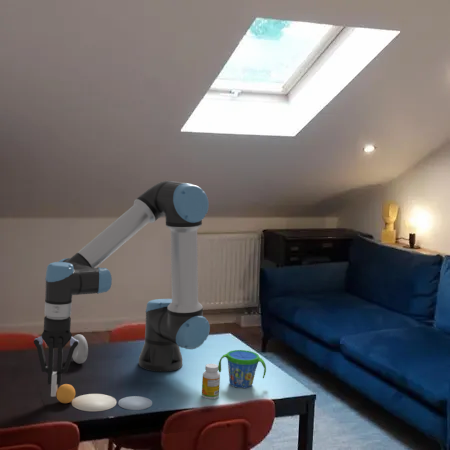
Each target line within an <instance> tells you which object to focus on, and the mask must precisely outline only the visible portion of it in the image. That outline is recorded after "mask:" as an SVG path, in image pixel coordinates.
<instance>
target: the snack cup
mask: <svg viewBox="0 0 450 450" xmlns="http://www.w3.org/2000/svg"><path fill="white" fill-rule="evenodd" d="M224 358H226V359H227V367H228V368H227V369H228V376H229V377H228V381H229V384H230V385H231V386H232V387H234V388H243V389H246V388H250V387H252V386H253V384H254V379H255V375H256V371H257V369H258V368H257V367H258V365H259V363H261V365H262V366H263V369H264V370H263V375H262V379H264V378H265V376H266V372H267V365H266V361H264V359H262V358H261V357H260V356H259V354H258V353H256V352H254V351H250V350H245V349H244V350H243V349H235V350H230V351H228V352H226V353H225V354H223V355H222V356H221V357H220V359H219V361H218V364H217V365H218V372H219V373H221V372H222V359H224Z"/></svg>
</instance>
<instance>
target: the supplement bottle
mask: <svg viewBox="0 0 450 450" xmlns="http://www.w3.org/2000/svg"><path fill="white" fill-rule="evenodd" d="M218 365H219V364H216V363H207V364H205V367H204V369H205V371H203V372H202V383H201V396H202V397H203V398H205V399H209V400H211V399H213V400H214V399H218V398H219V396H220V383H221V372H219V370H218Z"/></svg>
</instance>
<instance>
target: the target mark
mask: <svg viewBox="0 0 450 450" xmlns="http://www.w3.org/2000/svg"><path fill="white" fill-rule="evenodd" d="M117 404H118V401H117V399H116V398H115V397H114V396H111V395H107V394H103V393H88V394H83V395H82V394H80V395H79V396H75V397H74V399H73V400H72V401H71V406H72V407H73V408H74V409H77V410H79V411H82V412H83V411H84V412H103V411H107V410H110V409H113V408H114V407H115V406H116V405H117Z"/></svg>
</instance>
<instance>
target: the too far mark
mask: <svg viewBox="0 0 450 450" xmlns="http://www.w3.org/2000/svg"><path fill="white" fill-rule="evenodd" d="M117 405H118V406H119V407H120V408H122V409H125V410H128V411H129V410H131V411H140V410H146V409H149V408H150V407H151V406H152V405H153V401H152V400H151V399H149V398H147V397H144V396H139V395H137V396H136V395H135V396H134V395H133V396H126V397H123V398H121V399H119V400H118V401H117Z"/></svg>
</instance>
